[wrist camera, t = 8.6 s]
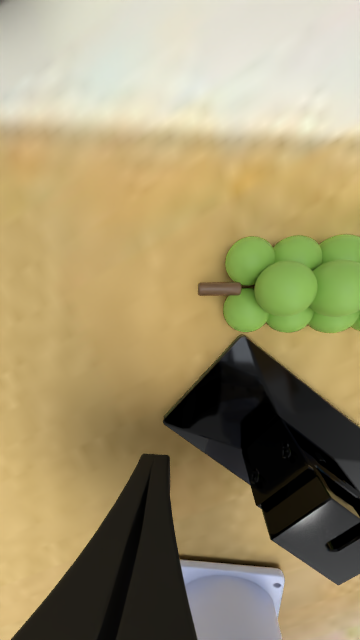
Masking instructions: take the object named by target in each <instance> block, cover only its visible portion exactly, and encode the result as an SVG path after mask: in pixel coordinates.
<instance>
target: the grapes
mask: <svg viewBox="0 0 360 640" xmlns="http://www.w3.org/2000/svg"><path fill="white" fill-rule="evenodd" d="M225 266H226V271H227V273H228V275H229V277H230V278H231V279H232V280H233V281H235V282H201V283H199V284H198V295H200V296H228V295H229V296H228V298H227V299H226V301H225V303H224V307H223V314H224V317H225V320H226V322H227V323H228V324H229V325H230V326H231V327H232V328H234V329H235V330H238V331H241V332H252V331H255V330H257V329H259V328H261V327H262V326H263V325H264V324H265V323H267V324H268V325H269V326H270V327H271V328H273V329H275V330H277V331H280V332H286V333H287V332H295V331H298V330H301V329H302V328H304V327H305V326H306V325H309V326H310V327H312V328H313V329H315V330H317V331H320V332H324V333H336V332H340V331H343V330H345V329H347V328H349V327H352V328H354V329H356V330H358V331H360V237H358V236H355V235H350V234H343V235H337V236H333V237H331V238H328V239H326V240H325V241H323V242H322V243H320V244H319V245H318V243H317V242H316V241H315V240H313V239H312V238H309V237H307V236H300V235H297V236H291V237H288V238H285V239H283V240H281V241H280V242H278V243H277V244H276V245H275V246H274V247H272V246H271V245H270V243H269V242H267V241H266V240H265V239H263V238H260V237H254V236H251V237H245V238H243V239H241V240H239V241H237V242H236V243H235V244H234V245H233V246H232V247H231V248H230V250H229V251H228V253H227V256H226V261H225ZM241 285H247V286H249V285H255V288H254V289H253V288H241Z"/></svg>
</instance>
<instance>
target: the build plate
mask: <svg viewBox="0 0 360 640" xmlns="http://www.w3.org/2000/svg"><path fill="white" fill-rule="evenodd" d="M163 423H164V425H166V426H167V427H169V428H170V429H171V430H173V431H174V432H176V433H177V434H178V435H180V436H181V437H183V438H184V439H186V440H187V441H188V442H190V443H191V444H193V445H194V446H196V447H197V448H198V449H200V450H201V451H203V452H204V453H205V454H207V455H208V456H210V457H211V458H213V459H214V460H215V461H217V462H218V463H220V464H221V465H222V466H224V467H225V468H227V469H228V470H230V471H231V472H232V473H234V474H235V475H237V476H238V477H239V478H241V479H242V480H244V481H245V482H247V483H248V484H249V485H251V489H252V492H253V496H254V500H255V503H256V506H258V507H259V508H261V509H262V512H263V516H264V519H265V523H266V526H267V529H268V533H269V536H270V539H271V540H272V541H274V542H275V543H277V544H278V545H279V546H281V547H282V548H284V549H285V550H287V551H288V552H290V553H291V554H293V555H294V556H296V557H297V558H299V559H300V560H302V561H303V562H305V563H306V564H307V565H309V566H310V567H312V568H313V569H315V570H316V571H318V572H319V573H321V574H322V575H324V576H325V577H327V578H328V579H330V580H331V581H333V582H334V583H336V584H337V585H340V584H342V583H344V582H346V581H347V580H349V579H351V578H353V577H355V576H357V575H358V574H360V427H358V426H357V425H356V424H355V423H353V422H352V421H351V420H350V419H348V418H347V417H346V416H345V415H343V414H342V413H341V412H340V411H338V410H337V409H336V408H335V407H333V406H332V405H331V404H330V403H328V402H327V401H326V400H325V399H323V398H322V397H321V396H320V395H318V394H317V393H316V392H315V391H313V390H312V389H311V388H310V387H308V386H307V385H306V384H305V383H303V382H302V381H301V380H300V379H298V378H297V377H296V376H295V375H293V374H292V373H291V372H290V371H288V370H287V369H286V368H285V367H284V366H282V365H281V364H280V363H279V362H277V361H276V360H275V359H274V358H272V357H271V356H270V355H269V354H267V353H266V352H265V351H264V350H262V349H261V348H260V347H259V346H257V345H256V344H255V343H254V342H252V341H251V340H250V339H249V338H247V337H246V336H245V335H240V336H239V337H238V338H237V339H236V340H235V341H234V342H233V343H232V344H231V345H230V346H229V347H228V348H227V349H226V351H225V352H224V353H223V354H222V355H221V356H220V357H219V358H218V359H217V360H216V361H215V362H214V363H213V365H212V366H211V367H210V368H209V369H208V370H207V371H206V372H205V373H204V374H203V375H202V376H201V377H200V378H199V380H198V381H197V382H196V383H195V384H194V385H193V386H192V387H191V388H190V389H189V390H188V391H187V392H186V393H185V395H184V396H183V397H182V398H181V399H180V400H179V401H178V402H177V403H176V404H175V405H174V406H173V407H172V408H171V410H170V411H169V412H168V413H167V414H166V415H165V416H164V420H163Z"/></svg>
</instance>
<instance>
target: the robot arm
mask: <svg viewBox="0 0 360 640" xmlns="http://www.w3.org/2000/svg"><path fill="white" fill-rule="evenodd" d="M284 582H285V578H284V575H283V572H282V571H281V570H280V569H278V568H270V567H259V566H248V565H237V564H226V563H215V562H204V561H193V560H181V559H179V554H178V548H177V543H176V537H175V531H174V524H173V517H172V510H171V501H170V457H169V456H168V455H159V454H143V455H142V456H141V458H140V460H139V462H138V464H137V466H136V468H135V470H134V471H133V473H132V475H131V477H130V479H129V481H128V482H127V484H126V486H125V487H124V489H123V491H122V492H121V494H120V496H119V497H118V499H117V501H116V502H115V504H114V506H113V507H112V509H111V510H110V512H109V513H108V515H107V516H106V518H105V519H104V521H103V522H102V524H101V525H100V527H99V528H98V530H97V531H96V533H95V534H94V536H93V537H92V539H91V540H90V541H89V543H88V544H87V546H86V547H85V548H84V550H83V551H82V552H81V554H80V555H79V557H78V558H77V559H76V561H75V562H74V563H73V565H72V566H71V567H70V568H69V570H68V571H67V572H66V574H65V575H64V576H63V577H62V579H61V580H60V581H59V583H58V584H57V585H56V586H55V588H54V589H53V590H52V591H51V593H50V594H49V595H48V596H47V598H46V599H45V600H44V601H43V602H42V604H41V605H40V606H39V607H38V608H37V610H36V611H35V612H34V613H33V614H32V615H31V617H30V618H29V619H28V620H27V621H26V623H25V624H24V625H23V626H22V627H21V628H20V630H19V631H18V632H17V633H16V634H15V635H14V637H13V638H12V639H11V640H282V635H281V631H280V627H279V623H278V615H279V609H280V604H281V599H282V593H283V588H284Z"/></svg>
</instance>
